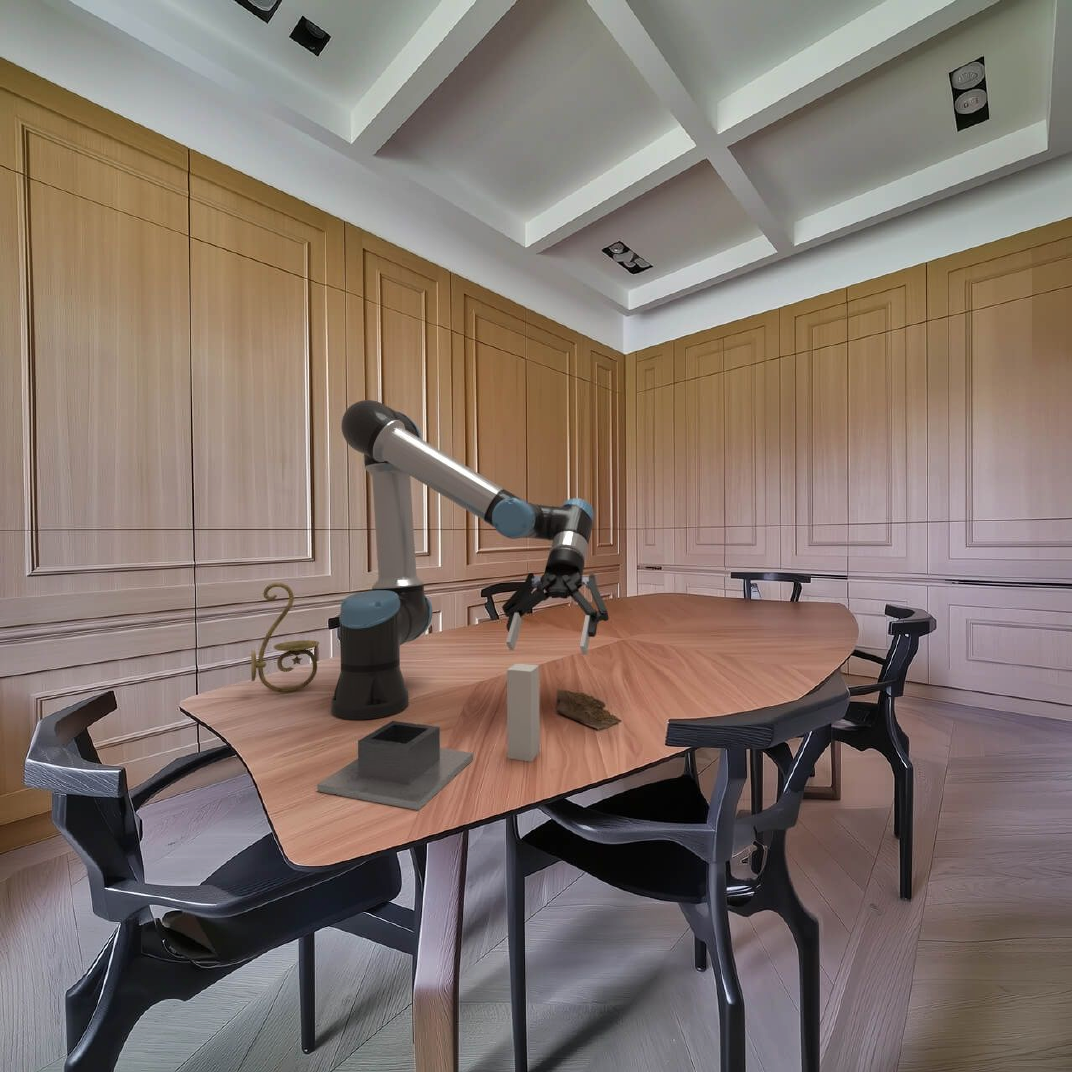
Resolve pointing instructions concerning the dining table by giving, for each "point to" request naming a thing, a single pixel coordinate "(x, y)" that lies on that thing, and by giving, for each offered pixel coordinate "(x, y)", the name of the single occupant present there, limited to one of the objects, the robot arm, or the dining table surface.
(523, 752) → the rail post
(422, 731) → the square post socket
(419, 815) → the dining table surface
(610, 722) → the wooden fragment
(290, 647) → the wall sconce
